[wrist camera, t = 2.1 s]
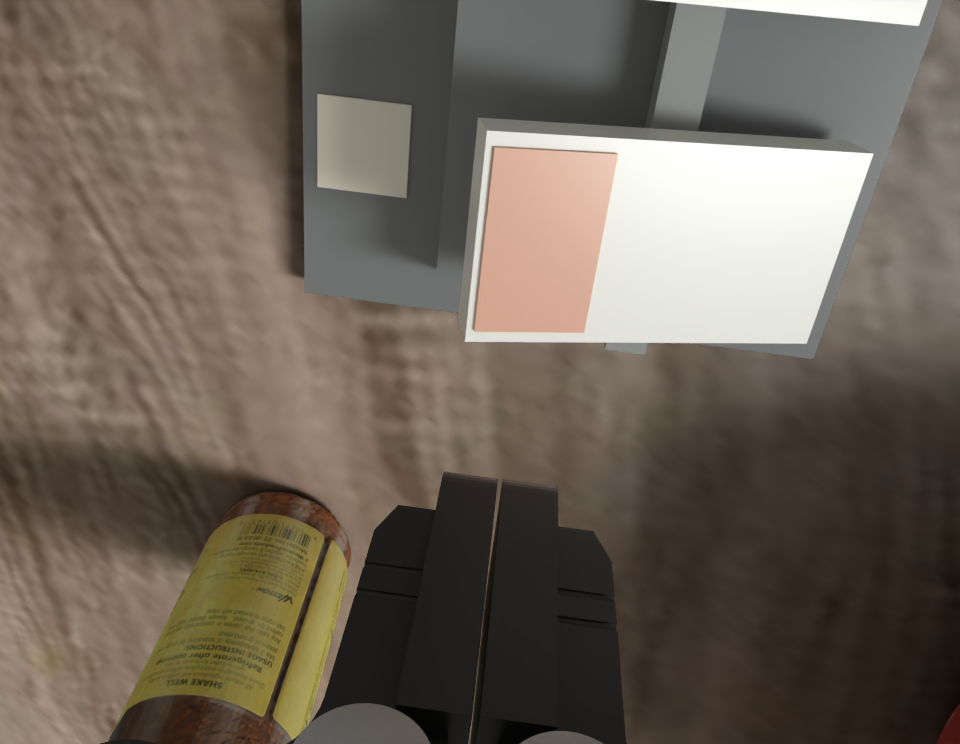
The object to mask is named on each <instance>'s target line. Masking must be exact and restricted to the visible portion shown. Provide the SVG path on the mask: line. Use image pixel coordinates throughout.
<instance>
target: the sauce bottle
mask: <svg viewBox="0 0 960 744" xmlns="http://www.w3.org/2000/svg"><path fill="white" fill-rule="evenodd" d="M350 558H351V550H350V546H349V543H348V538H347V536H346V534H345V533H344V531H343V529H342V527H341V525H340V524H339V523H338V521H337V520H336V519H335V517H334V516H333V515H332V514H331V512H330V511H328V510H327V509H325V508H324V507H323V506H321V505H319V504H317V503H316V502H315V501H311V500H309V499H306V498H302V497H300V496H298V495H296V494H292V493H283V492H279V491H278V492H261V493H259V494H255V495H251V496H248V497H246V498H245V499H243V500H241V501H239V502H237V503H236V504H235V505H233V506H232V507H231V508H230V509H229V510H228V511H227V512H226V513H225V515H224V518H223V520H222V522H221V524H220V526H219V527H218V528H217V529H216V530H215V531H214V532H213V533H212V534H211V536H210V537H209V539H208V541H207V543H206V545H205V547H204V549H203V551H202V553H201V555H200V556H199V558H198V560H197V562H196V564H195V566H194V568H193V570H192V572H191V574H190V576H189V578H188V580H187V583H186V585H185V587H184V589H183V591H182V593H181V595H180V597H179V599H178V601H177V603H176V605H175V607H174V609H173V611H172V613H171V615H170V617H169V619H168V621H167V623H166V625H165V627H164V629H163V631H162V633H161V635H160V637H159V639H158V641H157V643H156V645H155V647H154V649H153V651H152V653H151V655H150V657H149V659H148V661H147V663H146V665H145V667H144V669H143V671H142V673H141V675H140V677H139V679H138V681H137V684H136V686H135V688H134V690H133V692H132V694H131V696H130V698H129V700H128V702H127V704H126V706H125V708H124V710H123V712H122V714H121V716H120V718H119V720H118V722H117V724H116V726H115V728H114V730H113V732H112V735H111V737H110V739H109V741H114V740H122V739H139V740H144V741H149V742H153V743H156V744H287V743H289V742H290V741H291V740H293V739H294V738H296V737H297V736H298V735H299V734H300V733H301V732H302V731H303V730H304V729H305V728H306V727H307V726H308V724H309V720H310V717H311V713H312V709H313V706H314V702H315V698H316V694H317V691H318V687H319V683H320V680H321V676H322V672H323V669H324V665H325V661H326V657H327V654H328V650H329V646H330V642H331V639H332V635H333V632H334V628H335V624H336V621H337V617H338V614H339V610H340V606H341V602H342V598H343V595H344V591H345V587H346V583H347V574H348V567H349V563H350ZM109 741H108V742H109Z"/></svg>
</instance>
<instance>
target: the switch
mask: <svg viewBox="0 0 960 744" xmlns="http://www.w3.org/2000/svg"><path fill="white" fill-rule="evenodd" d="M872 157H873V153H871V152H869V151H867V150H865V149H863V148H861V147H859V146H857V145H855V144H853V143H851V142H849V141H845V140H829V139H813V138H797V137H781V136H765V135H749V134H733V133H717V132H702V131H686V130H670V129H654V128H638V127H622V126H606V125H590V124H574V123H558V122H542V121H526V120H510V119H494V118H478V123H477V134H476V144H475V154H474V164H473V174H472V185H471V195H470V205H469V215H468V225H467V236H466V246H465V256H464V266H463V276H462V286H461V297H460V307H459V317H458V322H459V325H460V328H461V331H462V334H463V337H464V340H465V342H606V343H779V344H807V341H808V338H809V336H810V333H811V330H812V327H813V324H814V321H815V319H816V316H817V313H818V310H819V307H820V304H821V302H822V299H823V296H824V293H825V290H826V287H827V285H828V282H829V279H830V276H831V273H832V270H833V267H834V265H835V262H836V259H837V256H838V253H839V250H840V248H841V245H842V242H843V239H844V236H845V233H846V231H847V228H848V225H849V222H850V219H851V216H852V214H853V211H854V208H855V205H856V202H857V199H858V197H859V194H860V191H861V188H862V185H863V182H864V180H865V177H866V174H867V171H868V168H869V165H870V163H871V160H872Z"/></svg>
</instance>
